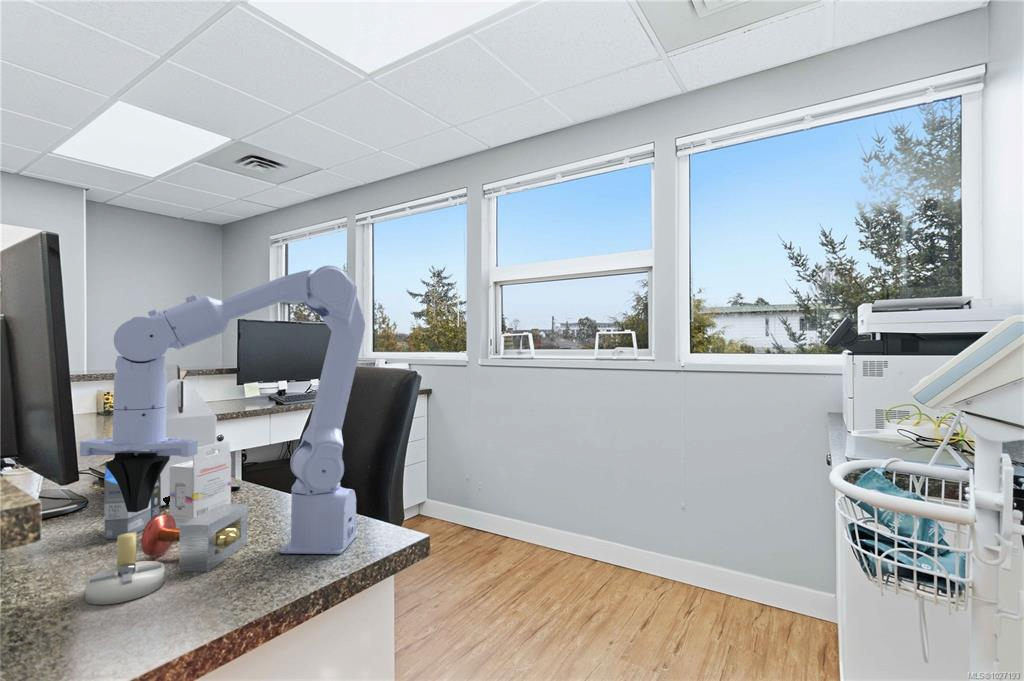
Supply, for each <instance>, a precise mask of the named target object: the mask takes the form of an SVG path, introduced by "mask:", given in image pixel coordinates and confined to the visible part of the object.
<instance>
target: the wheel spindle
mask: <svg viewBox="0 0 1024 681" xmlns="http://www.w3.org/2000/svg"><path fill="white" fill-rule="evenodd" d="M135 571H136V564H135V563H128V564H124V565H121V566H119V567H118V576H122V575H125V574H129V573H131V574H133V573H135Z"/></svg>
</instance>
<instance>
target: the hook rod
mask: <svg viewBox="0 0 1024 681" xmlns="http://www.w3.org/2000/svg"><path fill="white" fill-rule="evenodd" d="M142 531H143V532H142V533H141V534H142V535H141V540H140V541H141V542H140V545H141V550H142V552H143V553H144V554H145V555H146V556H149V557H159V556H162V555H163V554H165V553H166V552H167V551H168V550H169V549H170V547H171V546H172V545H173V543H180V528H176V523H175V519H174V518H173V517H172V516H171V515H169V514H167V513H164V514H163V513H161V514H159V515H156V516H154V517H153V518H152V519H151V520H150V521H149V522H148V523H147V525H146V527H145V529H143V530H142ZM239 537H240V533H239V529H238V528H222V529H221V530H219V531H217V532H216V545H215V546H228V545H230V544H232V543H235V542H236V541H237V540H238V539H239Z"/></svg>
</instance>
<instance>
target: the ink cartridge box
mask: <svg viewBox="0 0 1024 681" xmlns="http://www.w3.org/2000/svg"><path fill="white" fill-rule="evenodd" d="M230 443H231V442H230V441H229V440H225V441H221V442H216V443H215V444H211V445H206V446H203V447H198V449H197V454H195V455H193V461H189V462H185V463H181V464H177V465H172V466H170V502H169V504H168V505H169V506H168V507H169V508H168V509H169V511H168V512H169V515H171V516H172V517H173V518H174V519H175V523H176V528H180V525H181V524H183V523H185V522H187V521H189V520H191V519H193V518H195V517H197V516H199V515H201V514H203V513H205V512H207V511H209V510H211V509H213V508H215V507H217V506H219V505H221V504H232V503H231V502H232V501H231V500H232V457H231V444H230ZM211 449H213V450H216V451H218V452H216V454H213V455H209V456H206V452H209V451H210V450H211Z"/></svg>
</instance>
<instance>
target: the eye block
mask: <svg viewBox="0 0 1024 681" xmlns="http://www.w3.org/2000/svg"><path fill="white" fill-rule="evenodd" d="M248 508H249V507H248V503H231V504H221V505H219V506H217V507H215V508H213V509H211V510H209V511H207V512H205V513H203V514H201V515H199V516H197V517H195V518H193V519H191V520H189V521H187V522H185V523H183V524H181V525H180V542H179V550H178V551H179V552H178V553H179V554H178V555H179V556H178V572H200V573H201V572H203V573H204V572H209V571H210V570H212V569H214V568H215V567H216V566H218V565H219V564H220V563H222V562H224V561H225V560H226V559H228V558H229V557H230V556H232V555H233V554H235V553H236V552H238V551H239V550H241V549H242V548H243V547H245V546H246V545H247V544H248V540H247V539H248ZM222 528H238V529H239V533H240V537H239V539H238V540H237V541H236V542H235V543H232V544H230V545H228V546H215V545H216V532H217V531H219V530H221V529H222Z"/></svg>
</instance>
